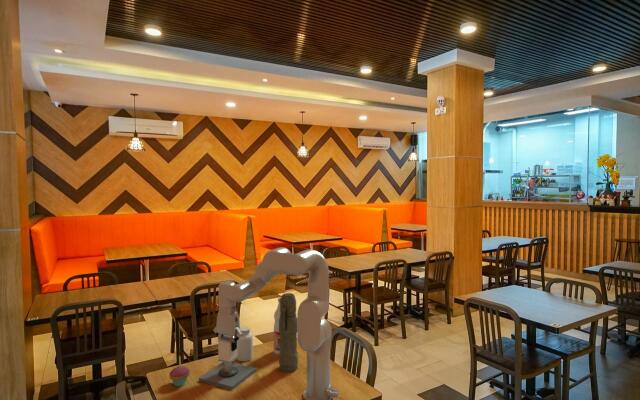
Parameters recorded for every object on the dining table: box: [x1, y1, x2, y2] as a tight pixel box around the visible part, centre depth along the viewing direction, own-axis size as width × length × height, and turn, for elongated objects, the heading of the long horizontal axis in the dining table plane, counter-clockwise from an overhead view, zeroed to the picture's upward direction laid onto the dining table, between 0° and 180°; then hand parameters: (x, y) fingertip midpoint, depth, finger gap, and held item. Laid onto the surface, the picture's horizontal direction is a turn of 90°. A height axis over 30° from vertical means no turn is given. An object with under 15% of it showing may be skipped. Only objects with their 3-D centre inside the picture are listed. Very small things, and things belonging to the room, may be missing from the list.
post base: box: [198, 362, 257, 391], centre depth 176 cm, size 18×18×12 cm
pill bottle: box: [236, 326, 254, 362], centre depth 194 cm, size 8×8×15 cm
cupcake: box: [169, 354, 191, 387], centre depth 169 cm, size 9×8×12 cm
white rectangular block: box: [217, 335, 238, 364], centre depth 176 cm, size 6×6×10 cm
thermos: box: [278, 292, 299, 373], centre depth 183 cm, size 9×12×35 cm
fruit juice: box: [273, 297, 281, 356], centre depth 200 cm, size 9×9×28 cm
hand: (227, 348), depth 176 cm, fingers closed on white rectangular block, 6 cm apart
